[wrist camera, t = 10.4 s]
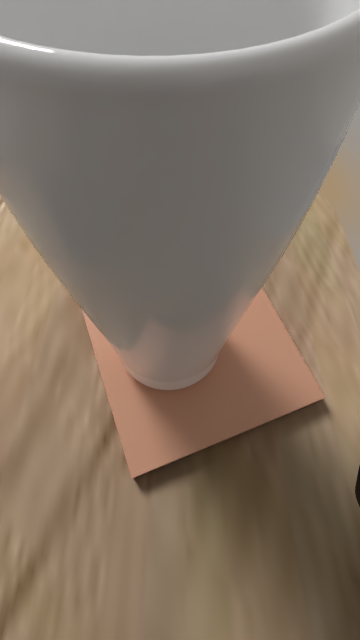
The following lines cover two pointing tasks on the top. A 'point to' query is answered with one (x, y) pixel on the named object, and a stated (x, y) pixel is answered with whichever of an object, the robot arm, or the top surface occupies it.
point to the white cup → (170, 156)
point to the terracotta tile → (209, 392)
